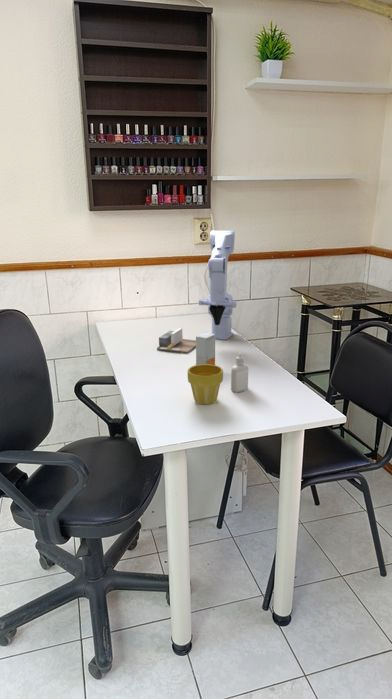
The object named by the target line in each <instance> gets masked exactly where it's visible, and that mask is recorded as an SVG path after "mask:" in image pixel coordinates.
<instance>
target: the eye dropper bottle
mask: <svg viewBox="0 0 392 699" xmlns="http://www.w3.org/2000/svg"><path fill="white" fill-rule="evenodd" d="M230 372H231V374H230V383H231V384H230V390H231V392H233V393H242V392H245V391H246V390H248V388H249V366H248V365H247V364H246V363H245V357H244V356H242V353H241V352H239V353H238V356H236V357H235V364H234V365H233V366H232V367H231V371H230Z"/></svg>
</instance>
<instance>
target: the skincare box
mask: <svg viewBox="0 0 392 699" xmlns="http://www.w3.org/2000/svg"><path fill="white" fill-rule="evenodd" d="M195 340H196V348H195V365H200V364H211V365H216V338H215V334H212V332H204V333H200V334H199V335H196V336H195Z"/></svg>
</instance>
